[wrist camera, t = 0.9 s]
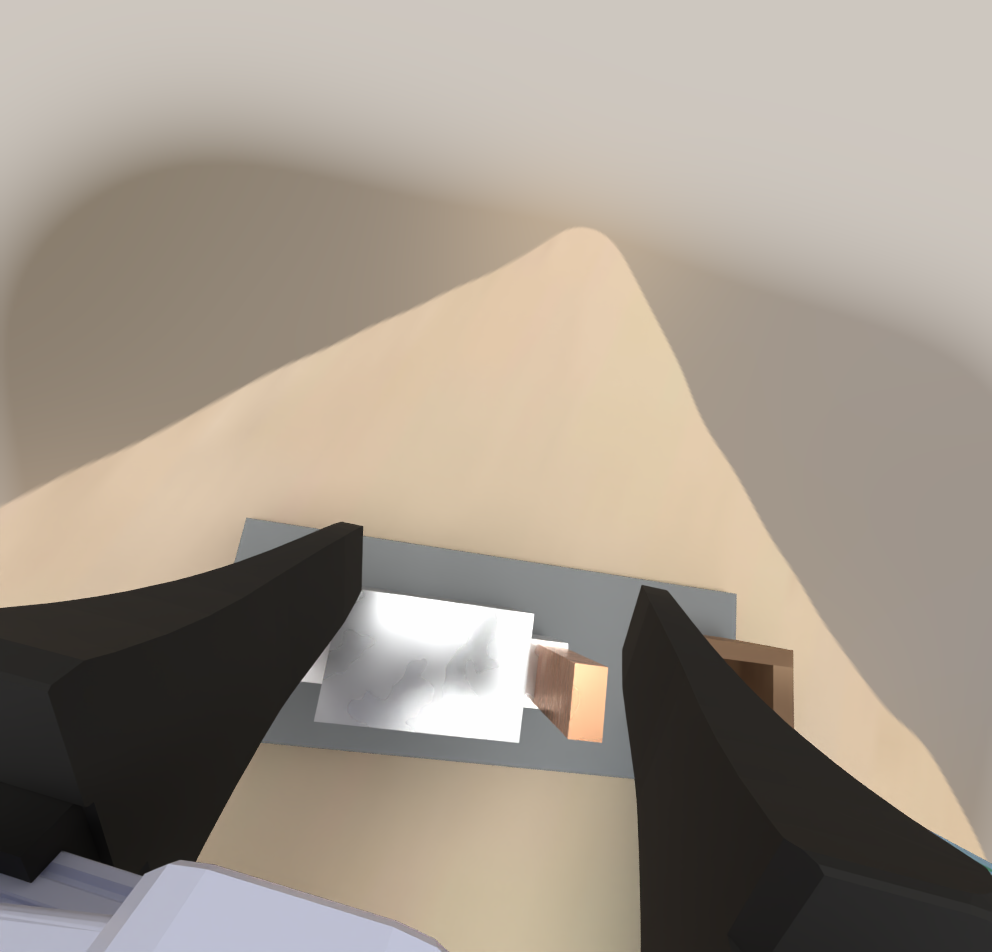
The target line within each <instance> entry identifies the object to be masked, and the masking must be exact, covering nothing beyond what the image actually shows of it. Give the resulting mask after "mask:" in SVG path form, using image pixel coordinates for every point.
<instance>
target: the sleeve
mask: <svg viewBox="0 0 992 952" xmlns="http://www.w3.org/2000/svg"><path fill="white" fill-rule="evenodd" d="M533 619H534V614H532V613H529V612H525V611H522V610H518V609H514V608H511V607H504V606H497V605H490V604H483V603H476V602H469V601H462V600H454V599H447V598H440V597H433V596H426V595H419V594H412V593H405V592H398V591H391V590H384V589H377V588H370V587H363V586H362V591H361V593H360V595H359V597H358V599H357V601H356V603H355V604H354V606H353V608H352V610H351V612H350V613H349V615H348V617H347V619H346V621H345V622H344V624H343V625H342V627H341V628H340V629H339V631H338V632H337V633H336V635H335V636H334V638H333V639H332V640H331V643H330V648H329V653H328V657H327V662H326V667H325V672H324V676H323V681H322V686H321V690H320V695H319V700H318V704H317V709H316V714H315V718H314V722H324V723H333V724H343V725H352V726H362V727H372V728H381V729H391V730H400V731H410V732H419V733H429V734H439V735H448V736H458V737H467V738H477V739H487V740H496V741H506V742H515V743H519V739H520V730H521V722H522V713H523V704H524V696H525V687H526V679H527V670H528V662H529V653H530V645H531V636H532V628H533Z"/></svg>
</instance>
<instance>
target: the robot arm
mask: <svg viewBox="0 0 992 952" xmlns="http://www.w3.org/2000/svg"><path fill="white" fill-rule="evenodd" d="M362 557H363V526H359V525H354V524H350V523H345V522H339V523H336V524H333V525H330V526H328V527H325V528H323V529H320V530H318V531H315V532H313V533H310V534H308V535H306V536H303V537H301V538H298V539H296V540H293V541H291V542H289V543H286V544H284V545H281V546H279V547H276V548H274V549H271V550H269V551H266V552H263V553H261V554H258V555H255V556H253V557H250V558H247V559H244V560H242V561H239V562H236V563H234V564H231V565H228V566H225V567H222V568H218V569H215V570H212V571H209V572H205V573H202V574H198V575H194V576H191V577H187V578H184V579H180V580H176V581H172V582H167V583H163V584H158V585H153V586H149V587H144V588H140V589H135V590H131V591H126V592H121V593H115V594H109V595H103V596H98V597H91V598H84V599H77V600H71V601H63V602H55V603H47V604H37V605H27V606H17V607H7V608H0V952H448V951H447V950H446V949H445V948H444V947H443V946H442V945H441V944H440V943H439V942H438V941H437V940H436V939H434V938H432V937H430V936H428V935H426V934H424V933H422V932H419V931H417V930H415V929H413V928H411V927H409V926H407V925H404V924H402V923H400V922H398V921H396V920H393V919H389V918H386V917H383V916H380V915H376V914H373V913H370V912H367V911H363V910H360V909H357V908H354V907H350V906H347V905H344V904H341V903H337V902H334V901H331V900H328V899H324V898H321V897H318V896H315V895H311V894H308V893H305V892H302V891H298V890H295V889H292V888H289V887H285V886H282V885H279V884H276V883H273V882H269V881H266V880H263V879H260V878H256V877H253V876H250V875H247V874H243V873H240V872H237V871H234V870H230V869H227V868H224V867H221V866H217V865H214V864H207V863H199V862H196V860H197V858H198V856H199V854H200V852H201V850H202V848H203V846H204V844H205V842H206V841H207V839H208V837H209V835H210V833H211V831H212V829H213V828H214V826H215V824H216V822H217V820H218V818H219V816H220V815H221V813H222V811H223V809H224V807H225V805H226V803H227V802H228V800H229V798H230V796H231V794H232V792H233V790H234V789H235V787H236V785H237V783H238V782H239V780H240V778H241V776H242V775H243V773H244V771H245V769H246V768H247V766H248V764H249V762H250V761H251V759H252V757H253V755H254V754H255V752H256V750H257V748H258V747H259V745H260V743H261V742H262V740H263V738H264V737H265V735H266V733H267V732H268V730H269V728H270V727H271V725H272V723H273V722H274V720H275V718H276V717H277V715H278V713H279V712H280V710H281V709H282V707H283V706H284V704H285V703H286V701H287V700H288V698H289V697H290V695H291V694H292V693H293V691H294V690H295V689H296V687H297V686H298V685H299V683H300V682H301V681H302V679H303V678H304V677H305V675H306V674H307V673H308V671H309V670H310V669H311V667H312V666H313V664H314V663H315V662H316V660H317V659H318V658H319V656H320V655H321V654H322V652H323V651H324V650H325V648H326V647H327V646H328V644H329V643H330V642H331V640H332V639H333V638H334V636H335V635H336V633H337V632H338V631H339V629H340V628H341V627H342V625H343V624H344V622H345V621H346V619H347V617H348V615H349V613H350V612H351V610H352V608H353V606H354V604H355V603H356V601H357V599H358V597H359V595H360V593H361V591H362ZM622 690H623V698H624V706H625V713H626V721H627V728H628V735H629V742H630V749H631V757H632V764H633V771H634V778H635V787H636V798H637V814H638V839H639V870H640V912H641V952H992V875H991V873H990V872H989V871H988V869H987V868H986V867H985V866H983V865H982V864H980V863H978V862H977V861H975V860H974V859H972V858H971V857H969V856H968V855H966V854H965V853H963V852H962V851H960V850H959V849H957V848H955V847H954V846H952V845H951V844H949V843H948V842H946V841H945V840H943V839H942V838H940V837H939V836H937V835H935V834H934V833H932V832H931V831H929V830H928V829H926V828H925V827H923V826H922V825H920V824H919V823H917V822H915V821H914V820H912V819H911V818H909V817H908V816H906V815H905V814H904V813H902V812H901V811H899V810H898V809H896V808H895V807H894V806H892V805H891V804H889V803H888V802H887V801H885V800H884V799H882V798H881V797H880V796H878V795H877V794H876V793H874V792H873V791H871V790H870V789H869V788H867V787H866V786H864V785H863V784H862V783H860V782H859V781H858V780H856V779H855V778H854V777H852V776H851V775H850V774H848V773H847V772H846V771H845V770H843V769H842V768H841V767H839V766H838V765H837V764H835V763H834V762H833V761H832V760H831V759H829V758H828V757H827V756H826V755H824V754H823V753H822V752H821V751H820V750H818V749H817V748H816V747H815V746H813V745H812V744H811V743H810V742H809V741H807V740H806V739H805V738H804V737H802V736H801V735H800V734H799V733H798V732H797V731H796V730H794V729H793V728H792V727H791V726H790V725H789V724H788V723H786V722H785V721H784V720H783V719H782V718H781V717H780V716H779V715H778V714H777V713H776V712H775V711H774V710H773V709H771V708H770V707H769V706H768V705H767V704H766V703H765V702H764V701H763V700H762V699H761V698H760V697H759V696H758V695H757V694H756V693H755V692H754V691H753V690H752V689H751V688H750V687H749V686H748V685H747V684H746V683H745V682H744V681H743V680H742V679H741V678H740V677H739V676H738V674H737V673H736V672H735V671H734V670H733V669H732V668H731V667H730V666H729V665H728V664H727V663H726V661H725V660H724V659H723V658H722V657H721V656H720V655H719V653H718V652H717V651H716V650H715V649H714V648H713V646H712V645H711V644H710V643H709V642H708V640H707V639H706V638H705V637H704V636H703V634H702V633H701V632H700V631H699V629H698V628H697V627H696V626H695V624H694V623H693V622H692V621H691V619H690V618H689V617H688V616H687V614H686V613H685V612H684V610H683V609H682V608H681V607H680V605H679V604H678V603H677V602H676V600H675V599H674V598H673V597H672V595H671V594H670V593H669V592H668V591H667V590H664V589H659V588H655V587H650V586H645V585H641V588H640V592H639V595H638V598H637V602H636V605H635V608H634V612H633V615H632V618H631V622H630V625H629V628H628V632H627V635H626V638H625V642H624V645H623V648H622Z"/></svg>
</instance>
